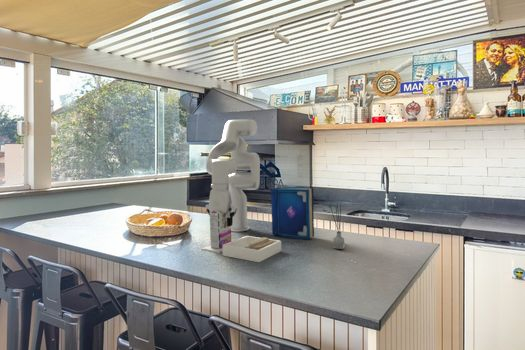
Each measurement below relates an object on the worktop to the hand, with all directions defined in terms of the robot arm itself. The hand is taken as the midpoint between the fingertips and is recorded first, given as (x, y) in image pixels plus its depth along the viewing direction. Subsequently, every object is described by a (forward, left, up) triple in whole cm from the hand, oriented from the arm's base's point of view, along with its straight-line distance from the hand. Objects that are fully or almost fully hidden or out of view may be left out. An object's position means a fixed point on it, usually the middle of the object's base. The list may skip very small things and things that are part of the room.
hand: (221, 224), depth 162 cm
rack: (+18, -1, -10) cm, 20 cm away
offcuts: (+22, -1, -10) cm, 24 cm away
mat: (0, 0, -10) cm, 10 cm away
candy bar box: (0, 0, -10) cm, 10 cm away
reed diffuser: (+46, +24, -10) cm, 53 cm away
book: (+19, +33, -10) cm, 39 cm away
